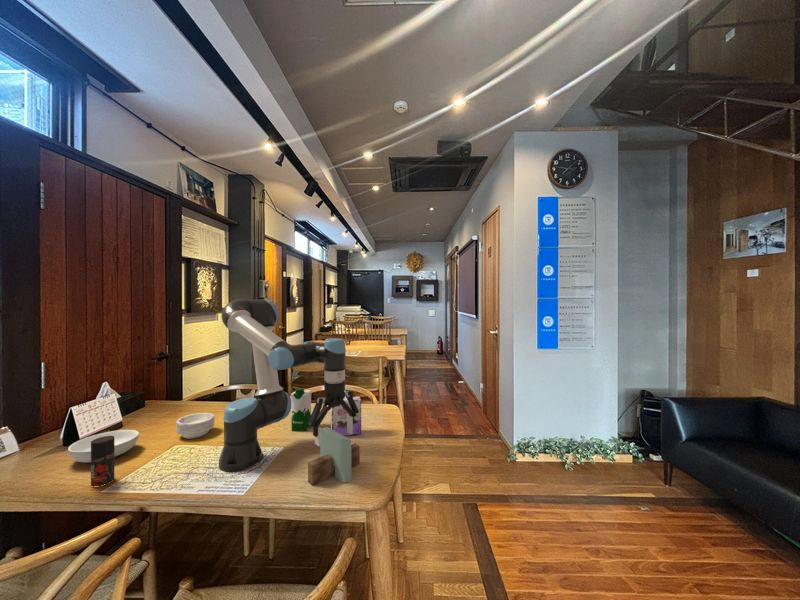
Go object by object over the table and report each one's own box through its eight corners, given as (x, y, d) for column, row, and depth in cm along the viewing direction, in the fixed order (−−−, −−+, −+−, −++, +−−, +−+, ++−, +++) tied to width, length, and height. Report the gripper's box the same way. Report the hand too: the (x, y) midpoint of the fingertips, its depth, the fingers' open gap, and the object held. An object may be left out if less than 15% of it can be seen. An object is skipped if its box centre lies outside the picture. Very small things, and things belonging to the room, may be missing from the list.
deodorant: (119, 477, 111) (119, 435, 111) (103, 487, 105) (103, 443, 105) (102, 477, 111) (102, 435, 111) (85, 487, 105) (85, 443, 105)
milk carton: (289, 431, 149) (288, 390, 149) (297, 424, 158) (296, 385, 158) (306, 432, 148) (306, 390, 148) (313, 424, 157) (313, 385, 157)
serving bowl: (147, 451, 130) (147, 435, 130) (78, 476, 112) (77, 457, 112) (127, 440, 141) (127, 425, 141) (60, 461, 122) (60, 443, 123)
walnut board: (312, 485, 105) (312, 465, 105) (308, 482, 107) (308, 461, 107) (359, 463, 119) (359, 445, 119) (355, 461, 121) (355, 443, 121)
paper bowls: (221, 431, 150) (221, 415, 150) (187, 444, 136) (187, 426, 136) (202, 425, 157) (202, 410, 157) (169, 437, 143) (169, 420, 143)
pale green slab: (344, 483, 106) (344, 442, 106) (320, 465, 118) (320, 429, 118) (351, 479, 109) (351, 439, 109) (327, 462, 120) (327, 426, 120)
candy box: (331, 438, 142) (331, 402, 142) (331, 432, 147) (330, 398, 148) (361, 434, 145) (361, 399, 146) (359, 429, 151) (359, 395, 151)
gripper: (308, 390, 102) (308, 454, 102) (367, 377, 119) (367, 431, 119) (297, 385, 107) (297, 446, 107) (356, 373, 125) (355, 425, 125)
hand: (334, 438), depth 113 cm, fingers open, 13 cm apart
